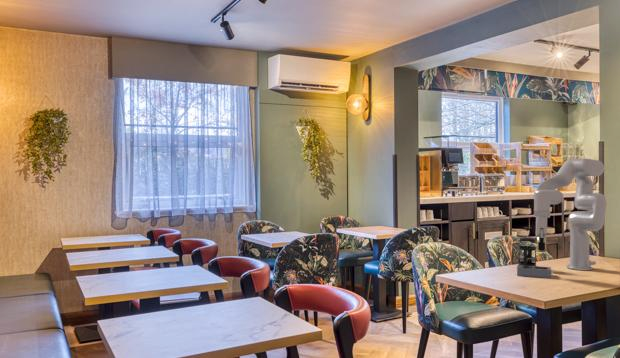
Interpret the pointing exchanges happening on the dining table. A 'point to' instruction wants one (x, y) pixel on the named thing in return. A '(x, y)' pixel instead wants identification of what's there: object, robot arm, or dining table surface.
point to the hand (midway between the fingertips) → (541, 249)
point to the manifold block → (534, 271)
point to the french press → (527, 251)
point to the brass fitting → (537, 245)
